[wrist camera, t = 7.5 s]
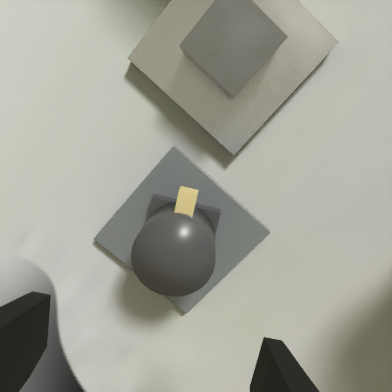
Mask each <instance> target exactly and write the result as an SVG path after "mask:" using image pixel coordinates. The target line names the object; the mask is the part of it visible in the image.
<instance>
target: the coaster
mask: <svg viewBox="0 0 392 392" xmlns="http://www.w3.org/2000/svg"><path fill="white" fill-rule="evenodd" d="M181 186H184V187H188V188H192V189H197V190H198V195H197V199H196V203H197V204H201V205H205V206H210V207H214V208H218V209H221V214H220V218H219V222H218V226H217V230H216V234H215V255H216V259H215V268H214V271H213V274H212V276H211V278H210V279H209V280H208V282H207V283H206V284H205V285H204V286H203V287H202V288H201V289H199V290H197V291H196V292H194V293H192V294H189V295H185V296H178V297H172V296H165V295H164V296H165V297H166V298H167V299H169V300H170V301H171V302H172V303H174V304H175V305H176V306H177V307H179V308H180V309H181V310H182V311H183V312H185V313H187V312H188V311H189V310H190V309H191V308H192V307H193V306H195V305H196V304H197V303H198V302H199V301H200V300H201V299H202V298H203V297H204V296H205V295H206V294H207V293H208V292H209V291H210V290H211V289H212V288H213V287H214V286H215V285H216V284H217V283H218V282H219V281H220V280H221V279H222V278H224V277H225V276H226V275H227V274H228V273H229V272H230V271H231V270H232V269H233V268H234V267H235V266H236V265H237V264H238V263H239V262H240V261H241V260H242V259H243V258H244V257H245V256H246V255H247V254H248V253H249V252H250V251H251V250H253V249H254V248H255V247H256V246H257V245H258V244H259V243H260V242H261V241H262V240H263V239H264V238H265V237H266V236H267V235H268V234H269V233H270V231H269V229H267V228H266V227H265V226H264V225H263V224H262V223H261V222H260V221H258V220H257V219H256V218H255V217H254V216H253V215H252V214H251V213H249V212H248V211H247V210H246V209H245V208H244V207H243V206H242V205H240V204H239V203H238V202H237V201H236V200H235V199H234V198H233V197H231V196H230V195H229V194H228V193H227V192H226V191H225V190H224V189H223V188H221V187H220V186H219V185H218V184H217V183H216V182H215V181H214V180H212V179H211V178H210V177H209V176H208V175H207V174H206V173H205V172H203V171H202V170H201V169H200V168H199V167H198V166H197V165H196V164H194V163H193V162H192V161H191V160H190V159H189V158H188V157H187V156H185V155H184V154H183V153H182V152H181V151H180V150H179V149H178V148H176V147H175V146H173V147H172V148H171V149H170V151H169V152H168V153H167V154H166V155H165V156H164V158H163V159H162V160H161V161H160V162H159V163H158V165H157V166H156V167H155V168H154V169H153V170H152V172H151V173H150V174H149V175H148V176H147V177H146V179H145V180H144V181H143V182H142V183H141V184H140V185H139V187H138V188H137V189H136V190H135V191H134V192H133V194H132V195H131V196H130V197H129V198H128V199H127V201H126V202H125V203H124V204H123V205H122V206H121V208H120V209H119V210H118V211H117V212H116V213H115V214H114V216H113V217H112V218H111V219H110V220H109V221H108V223H107V224H106V225H105V226H104V227H103V228H102V230H101V231H100V232H99V233H98V234H97V235H96V237H95V238H94V240H96V241H97V242H98V243H99V244H101V245H102V246H103V247H104V248H105V249H107V250H108V251H109V252H110V253H112V254H113V255H114V256H115V257H117V258H118V259H119V260H120V261H122V262H123V263H124V264H125V265H127V266H128V267H129V268H130V269H131V270H133V271H134V269H133V266H132V262H131V250H132V246H133V243H134V240H135V239H136V237H137V235H138V234H139V232H140V231H141V229H142V227H143V226H144V224H145V223H146V221H147V220H148V215H149V209H150V204H151V199H152V196H153V195H154V194H157V195H162V196H166V197H170V198H175V199H177V197H178V192H179V189H180V187H181ZM134 272H135V271H134Z"/></svg>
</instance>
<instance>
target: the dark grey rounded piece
mask: <svg viewBox="0 0 392 392" xmlns="http://www.w3.org/2000/svg"><path fill="white" fill-rule="evenodd" d="M197 195H198V190H197V189H192V188H188V187H184V186H181V187H180V189H179V192H178V197H177V199H175V198H170V197H166V196H162V195H157V194H154V195H153V196H152V199H151V204H150V209H149V215H148V220H147V221H146V223H145V224H144V226H143V227H142V229H141V231H140V232H139V234H138V235H137V237H136V239H135V240H134V243H133V246H132V250H131V262H132V266H133V269H134V271H135V274H136V275H137V277H138V278H139V280H140V281H141V282H142V283H143V284H144V285H145V286H146V287H148V288H149V289H150V290H152V291H154V292H156V293H158V294H161V295H165V296H172V297H178V296H185V295H189V294H192V293H194V292H196V291H197V290H199V289H201V288H202V287H203V286H204V285H205V284H206V283H207V282H208V280H209V279H210V278H211V276H212V274H213V271H214V268H215V259H216V255H215V234H216V230H217V226H218V222H219V218H220V214H221V209H218V208H214V207H210V206H205V205H201V204H197V203H196V199H197Z"/></svg>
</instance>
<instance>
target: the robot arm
mask: <svg viewBox="0 0 392 392" xmlns="http://www.w3.org/2000/svg"><path fill="white" fill-rule="evenodd" d="M50 297H51V296H50V295H48V294H43V293H38V292H31V293H28V294H26V295H24V296H22V297H20V298H18V299H16V300H14V301H12V302H10V303H8V304H6V305H4V306H2V307H0V392H19V391H20V389H21V388H22V387H23V385H24V384H25V382H26V381H27V380H28V378H29V377H30V375H31V373H32V371H33V370H34V368H35V367H36V365H37V363H38V361H39V360H40V358H41V356H42V354H43V352H44V351H45V349H46V347H47V337H48V324H49V310H50ZM250 392H319V390H318V389H317V388H316V386H315V385H314V384H313V382H312V381H311V380H310V378H309V377H308V376H307V374H306V373H305V372H304V370H303V369H302V367H301V366H300V365H299V363H298V362H297V361H296V359H295V358H294V356H293V355H292V353H291V352H290V351H289V349H288V348H287V347H286V345H285V344H284V343H283V341H281V340H276V339H271V338H266V337H264V339H263V342H262V346H261V349H260V353H259V356H258V360H257V363H256V367H255V370H254V374H253V377H252V381H251V384H250Z"/></svg>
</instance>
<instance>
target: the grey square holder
mask: <svg viewBox="0 0 392 392" xmlns="http://www.w3.org/2000/svg"><path fill="white" fill-rule="evenodd" d="M338 43H339V42H338V41H337V40H336V39H335V38H334V37H333V36H332V35H331V34H330V33H329V31H328V30H327V29H326V28H325V27H324V26H323V25H322V24H321V23H320V22H319V21H318V20H317V19H316V18H315V17H314V16H313V15H312V14H311V13H310V12H309V11H308V10H307V9H306V8H305V7H304V6H303V5H302V4H301V3H300V1H299V0H171V1H170V2H169V4H168V5H167V6H166V8H165V9H164V10H163V12H162V13H161V14H160V16H159V17H158V18H157V20H156V21H155V22H154V24H153V25H152V26H151V28H150V29H149V30H148V32H147V33H146V34H145V35H144V37H143V38H142V39H141V41H140V42H139V43H138V45H137V46H136V47H135V49H134V50H133V51H132V53H131V54H130V55H129V57H128V59H129V60H130V61H131V62H132V63H133V64H134V65H135V66H136V67H137V68H139V69H140V70H141V71H142V72H143V73H144V74H145V75H146V76H147V77H148V78H149V79H151V80H152V81H153V82H154V83H155V84H156V85H157V86H158V87H159V88H160V89H161V90H163V91H164V92H165V93H166V94H167V95H168V96H169V97H170V98H171V99H172V100H174V101H175V102H176V103H177V104H178V105H179V106H180V107H181V108H182V109H183V110H184V111H186V112H187V113H188V114H189V115H190V116H191V117H192V118H193V119H194V120H195V121H196V122H198V123H199V124H200V125H201V126H202V127H203V128H204V129H205V130H206V131H207V132H209V133H210V134H211V135H212V136H213V137H214V138H215V139H216V140H217V141H218V142H219V143H221V144H222V145H223V146H224V147H225V148H226V149H227V150H228V151H229V152H230V153H231V154H233V155H235V154H236V153H237V152H238V151H239V150H240V149H241V147H242V146H243V145H244V144H245V143H246V142H247V141H248V140H249V139H250V138H251V137H252V136H253V134H254V133H255V132H256V131H257V130H258V129H259V128H260V127H261V126H262V125H263V124H264V123H265V122H266V120H267V119H268V118H269V117H270V116H271V115H272V114H273V113H274V112H275V111H276V110H277V109H278V107H279V106H280V105H281V104H282V103H283V102H284V101H285V100H286V99H287V98H288V97H289V96H290V95H291V93H292V92H293V91H294V90H295V89H296V88H297V87H298V86H299V85H300V84H301V83H302V82H303V80H304V79H305V78H306V77H307V76H308V75H309V74H310V73H311V72H312V71H313V70H314V69H315V68H316V66H317V65H318V64H319V63H320V62H321V61H322V60H323V59H324V58H325V57H326V56H327V55H328V54H329V52H330V51H331V50H332V49H333V48H334V47H335V46H336V45H337V44H338Z"/></svg>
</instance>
